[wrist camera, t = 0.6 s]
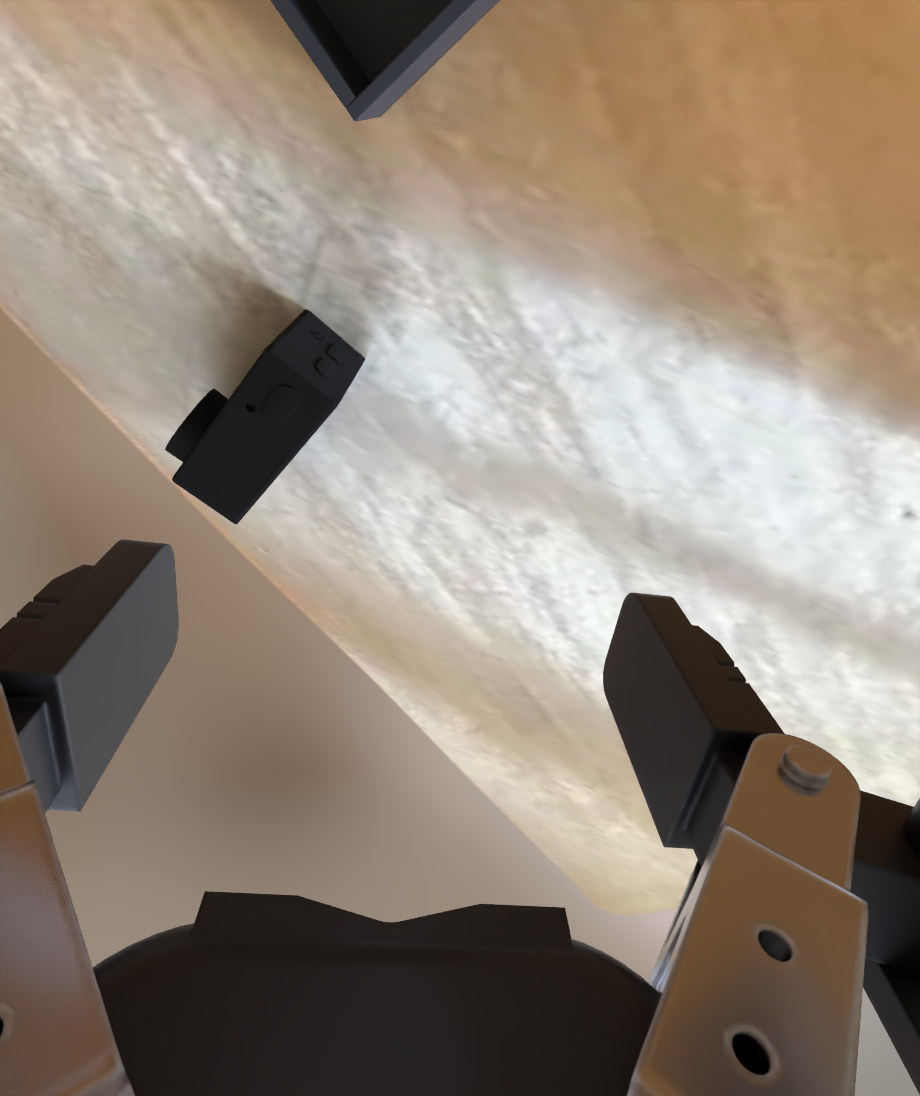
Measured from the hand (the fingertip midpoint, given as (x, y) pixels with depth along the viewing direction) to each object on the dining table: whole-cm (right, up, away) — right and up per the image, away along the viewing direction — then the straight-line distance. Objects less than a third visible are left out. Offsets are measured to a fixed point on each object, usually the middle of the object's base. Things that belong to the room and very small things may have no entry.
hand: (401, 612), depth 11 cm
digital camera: (-10, +11, +28) cm, 31 cm away
